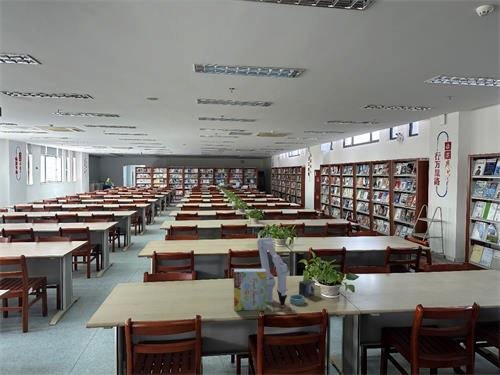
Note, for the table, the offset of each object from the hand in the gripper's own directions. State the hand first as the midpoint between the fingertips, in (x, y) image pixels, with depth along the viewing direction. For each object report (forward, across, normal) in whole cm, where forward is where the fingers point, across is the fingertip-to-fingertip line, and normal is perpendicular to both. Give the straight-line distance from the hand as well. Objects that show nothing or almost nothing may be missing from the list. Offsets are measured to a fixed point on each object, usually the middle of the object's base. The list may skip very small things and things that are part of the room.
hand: (281, 303), depth 231 cm
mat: (+4, 0, 0) cm, 4 cm away
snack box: (+4, +1, +21) cm, 21 cm away
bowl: (+4, +10, -12) cm, 16 cm away
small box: (+4, +25, -22) cm, 34 cm away
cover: (+3, 0, 0) cm, 3 cm away
